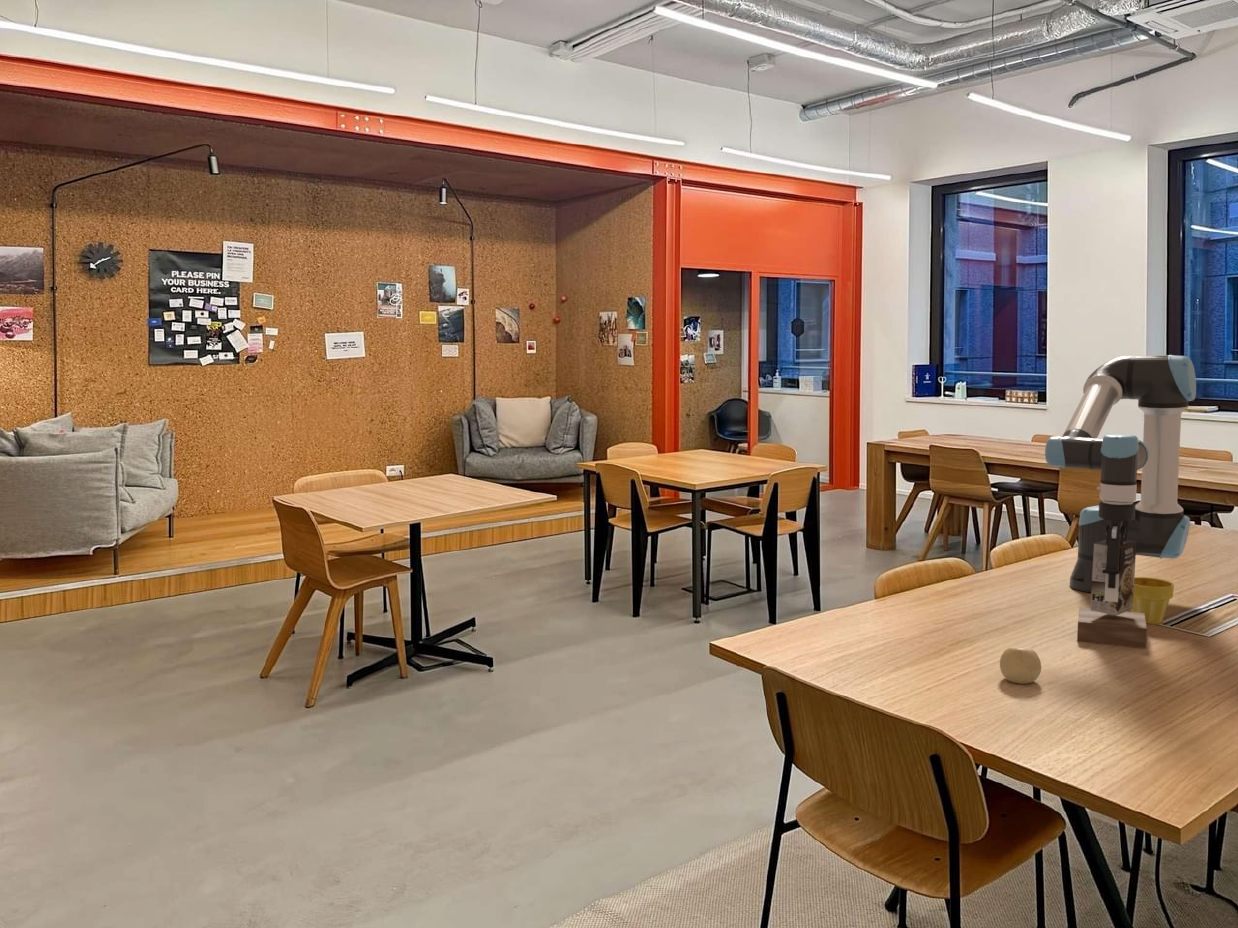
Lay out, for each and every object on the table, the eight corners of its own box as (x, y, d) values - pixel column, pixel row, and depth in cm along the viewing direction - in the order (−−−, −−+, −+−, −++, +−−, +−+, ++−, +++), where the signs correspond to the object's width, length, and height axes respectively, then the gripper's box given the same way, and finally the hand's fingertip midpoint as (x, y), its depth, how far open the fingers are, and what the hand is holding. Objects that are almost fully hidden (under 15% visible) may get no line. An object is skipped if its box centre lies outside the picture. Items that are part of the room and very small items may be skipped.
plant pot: (1177, 627, 239) (1180, 587, 238) (1131, 625, 241) (1133, 585, 240) (1163, 615, 249) (1165, 577, 248) (1118, 613, 251) (1120, 576, 250)
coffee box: (1118, 616, 226) (1121, 546, 224) (1089, 610, 231) (1092, 542, 229) (1134, 608, 232) (1137, 541, 230) (1106, 603, 237) (1109, 537, 235)
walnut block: (1078, 627, 241) (1079, 607, 241) (1143, 633, 235) (1144, 613, 234) (1077, 642, 229) (1077, 621, 228) (1145, 650, 223) (1146, 628, 222)
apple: (1007, 686, 198) (994, 649, 201) (1006, 690, 205) (994, 654, 208) (1047, 676, 196) (1034, 639, 199) (1045, 681, 204) (1032, 644, 206)
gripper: (1102, 493, 240) (1098, 583, 242) (1095, 508, 220) (1090, 605, 223) (1137, 495, 236) (1133, 586, 239) (1133, 510, 216) (1128, 609, 219)
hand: (1112, 595), depth 231 cm, fingers closed on coffee box, 10 cm apart
